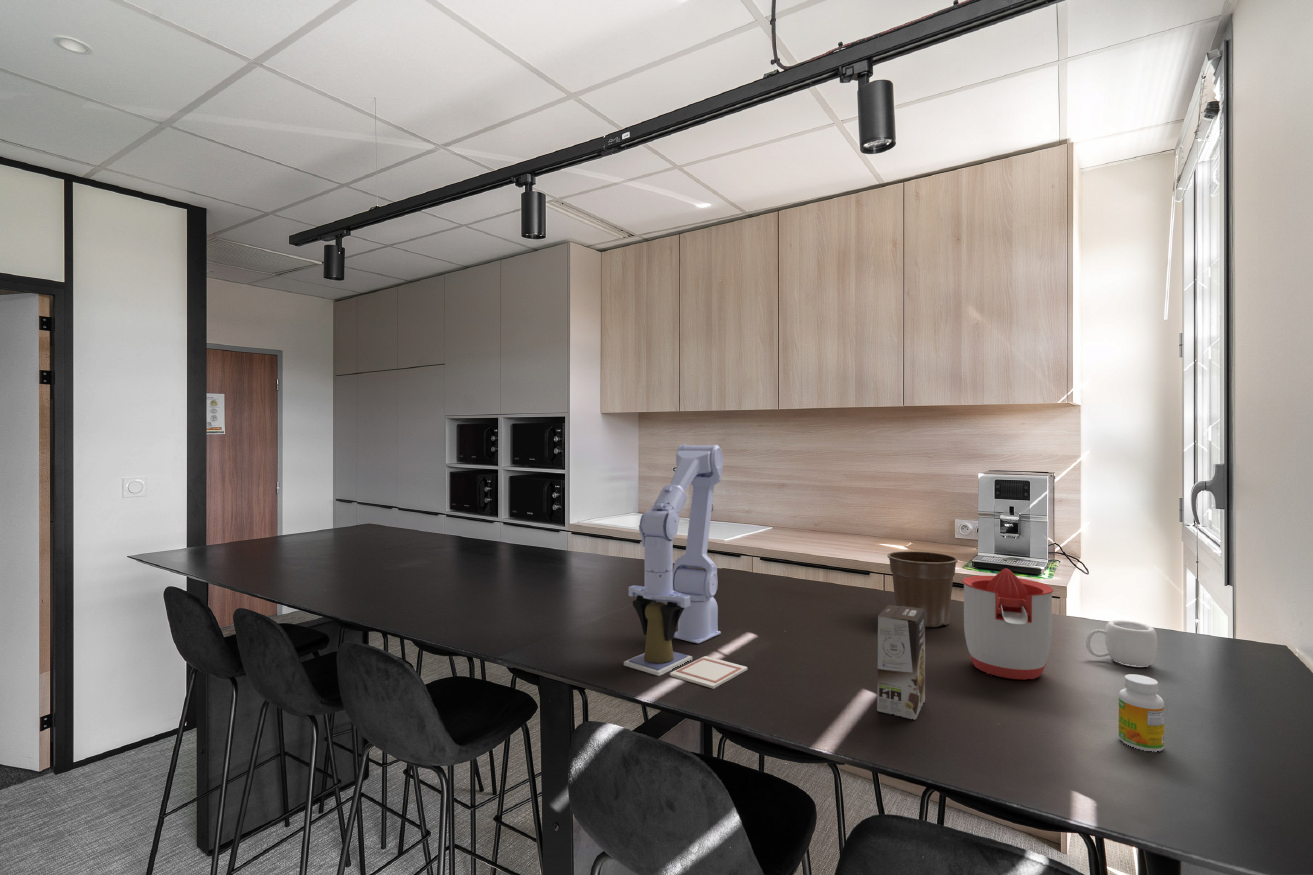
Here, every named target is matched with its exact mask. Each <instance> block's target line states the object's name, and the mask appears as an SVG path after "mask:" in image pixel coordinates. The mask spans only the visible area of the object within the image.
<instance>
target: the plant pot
mask: <svg viewBox="0 0 1313 875" xmlns="http://www.w3.org/2000/svg"><path fill="white" fill-rule="evenodd" d="M886 555H887V558H888V560H889V566H890V572H891V574H892V584H893V591H894V592H893V594H894V606H905V607H914V608H921V609H925V628H939V626H940V627H941V626H944V625H946V626H948V625H949V624H950V617H951V605H952V604H951V602H952V593H953V582H954V577H955V575H956V574H955V573H956V566H957V564H956V563H958V562H959V559H958V557H956V556H954V555H949V554H944V553H938V552H933V551H932V552H930V551H915V550H914V551H913V550H910V551H909V550H908V551H905V550H904V551H902V550H901V551H892V552H889V553H888V554H886ZM947 624H948V625H947Z"/></svg>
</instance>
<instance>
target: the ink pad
mask: <svg viewBox="0 0 1313 875" xmlns="http://www.w3.org/2000/svg"><path fill="white" fill-rule="evenodd" d="M644 655H645V652H643V653H642V654H639V655H637V656H634V657H632V658H630V659H627V660H625V661H623V666H625V667H629V668H632V669H635V670H638V671H641V672H644V673H647V674H652V675H654V676H657V677H660V676H661V675H662V676H663V675H664V674H667V673H668V672H670V671H672V669H673V668H675V667H677V666H679V667H680V665H681V666H683V665H685V664H686V663H685V662H687V661H689V662H691V661H693V656H692V655H688V654H684V653H680V652H676V651H673V655H674V659H673V660H671V661H669V662H664V663H652V662H648V661H646V660H645V659H644ZM690 660H691V661H690ZM684 663H685V664H684ZM687 663H688V662H687ZM682 664H683V665H682ZM677 668H678V667H677ZM675 669H676V668H675ZM673 670H674V669H673Z"/></svg>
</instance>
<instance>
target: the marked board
mask: <svg viewBox="0 0 1313 875" xmlns="http://www.w3.org/2000/svg"><path fill="white" fill-rule="evenodd" d="M745 671H748V667H747V666H745V665H740V664H737V663H733V662H730V661H726V660H722V659H718V658H714V657H712V656H711V657H710V656H707V655H705V656H702V657H700V658H698V659H696V660H694V661H692V662H690V663H687V664H686V665H685V664H684V666H683V665H682V666H681V667H680V668H679V667H678V669H677V668H676V669H675V670H673V671H671V672H669V676H671V677H673V678H677V679H680V680H684V681H686V682H689V683H693V684H697V685H700V686H703V687H707V688H710V689H713V690H714V689H716V688H717V687H719V686H720V685H723V684H725V683H726V682H728V681H730V680H732V679H733V678H735V677H737V676H739V675H740V674H742V673H744V672H745Z"/></svg>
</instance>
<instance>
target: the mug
mask: <svg viewBox="0 0 1313 875" xmlns="http://www.w3.org/2000/svg"><path fill="white" fill-rule="evenodd" d="M1104 629H1105V630H1104ZM1104 629H1101V628H1099V629H1093V630H1092V631H1091V630H1090V632H1089V633H1088V634H1087V637H1086V640H1085V645H1086V649H1087V651H1088V652H1089V654H1090V655H1092V656H1094V657H1097V658H1103V657H1104V658H1105V657H1107V656H1109V658H1112V659H1113V660H1115V661H1117V662H1121V663H1123V664H1129V665H1136V666H1147V665H1150V666H1152V665H1153V663H1154V661H1155V659H1156V657H1157V654H1158V636H1157V632H1156V630H1155V628H1154V627H1153V626H1150V625H1147V624H1145V623H1142V622H1137V621H1131V620H1125V619H1122V620H1119V619H1115V620H1109V621H1108V622H1107V624H1106V626H1105V628H1104ZM1095 634H1103V635H1104V641H1105V646H1106V650H1107V651H1105V652H1103V653H1098V652H1095V651H1094V650H1093V649H1092V647H1091V639H1092V638H1093V636H1094V635H1095ZM1112 659H1111V660H1112ZM1113 660H1112V661H1113Z"/></svg>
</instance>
